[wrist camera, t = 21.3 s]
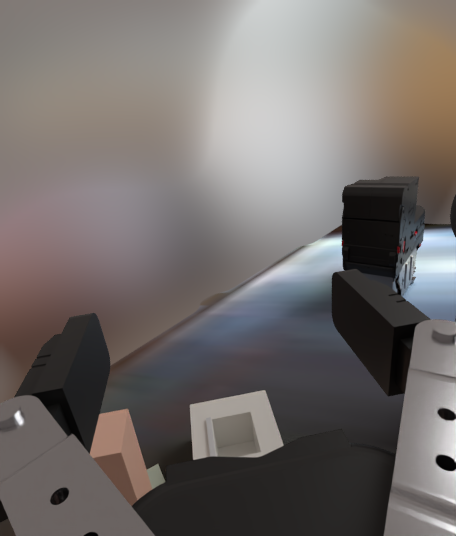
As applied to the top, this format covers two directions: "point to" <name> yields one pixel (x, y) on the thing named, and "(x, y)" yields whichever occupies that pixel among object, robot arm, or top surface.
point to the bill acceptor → (382, 230)
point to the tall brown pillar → (120, 454)
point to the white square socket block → (234, 427)
